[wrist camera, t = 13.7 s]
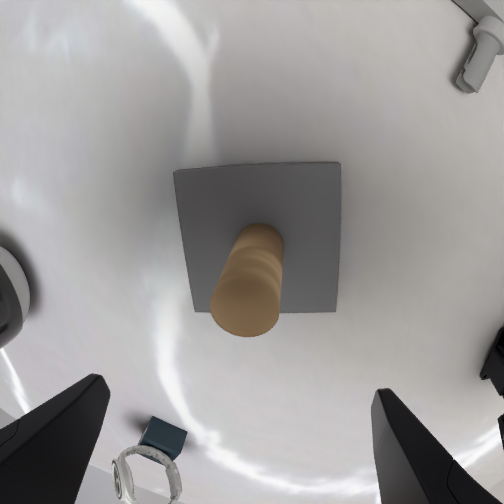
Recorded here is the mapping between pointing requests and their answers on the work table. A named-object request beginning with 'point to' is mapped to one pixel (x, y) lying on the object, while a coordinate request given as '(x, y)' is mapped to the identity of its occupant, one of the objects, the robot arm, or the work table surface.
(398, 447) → the robot arm
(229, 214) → the mat
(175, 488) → the watch
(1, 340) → the pump dispenser
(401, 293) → the work table surface
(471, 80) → the mechanical component
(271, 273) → the dowel
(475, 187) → the work table surface
